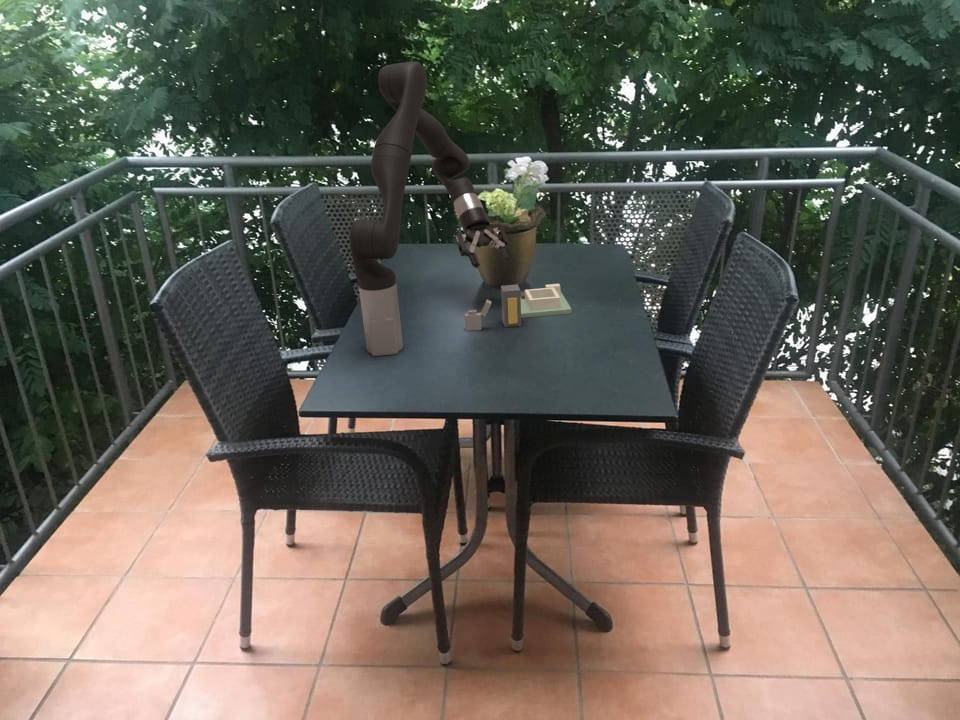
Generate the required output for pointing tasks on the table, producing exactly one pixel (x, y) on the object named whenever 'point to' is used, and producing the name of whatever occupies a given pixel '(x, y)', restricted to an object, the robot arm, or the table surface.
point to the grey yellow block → (511, 305)
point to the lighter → (476, 317)
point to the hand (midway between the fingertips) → (491, 263)
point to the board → (544, 302)
